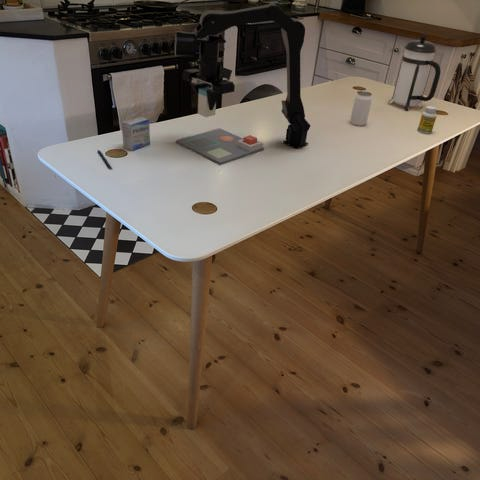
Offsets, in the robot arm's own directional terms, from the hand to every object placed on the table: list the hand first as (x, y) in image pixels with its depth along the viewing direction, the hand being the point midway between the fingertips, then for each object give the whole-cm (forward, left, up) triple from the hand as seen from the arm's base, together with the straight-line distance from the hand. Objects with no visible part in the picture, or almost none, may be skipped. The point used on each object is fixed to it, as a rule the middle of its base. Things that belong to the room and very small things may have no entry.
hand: (206, 108), depth 149 cm
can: (-19, -64, -13) cm, 68 cm away
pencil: (+9, +33, -13) cm, 37 cm away
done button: (-11, -9, -10) cm, 18 cm away
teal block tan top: (0, 0, -2) cm, 2 cm away
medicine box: (+12, +19, -13) cm, 26 cm away
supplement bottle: (-40, -79, -13) cm, 89 cm away
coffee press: (-20, -103, -13) cm, 106 cm away
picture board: (-4, -3, -12) cm, 13 cm away
